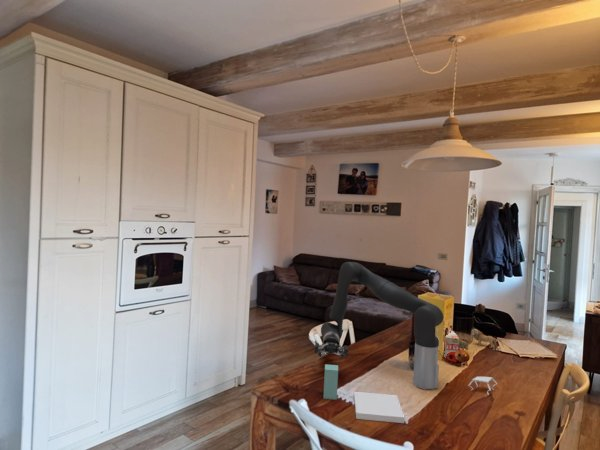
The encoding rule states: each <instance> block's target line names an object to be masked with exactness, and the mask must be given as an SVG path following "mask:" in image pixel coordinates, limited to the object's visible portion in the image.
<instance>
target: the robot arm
mask: <svg viewBox="0 0 600 450" xmlns="http://www.w3.org/2000/svg"><path fill="white" fill-rule="evenodd" d="M352 282H356V283H359V284H361V285H363V286H365V287H367V288H368V289H369V290H370V291H371V292H372V294H373V295H374V296H376V298H378V299H379V300H381V301H383V302H384V303H386V304H387V305H389V306H392V307H395V308H398V309H402V310H405V311H408V312H410V313H411V314H414V317H413V336H414V341H415V342H414V355H413V356H414V357H413V358H414V359H413V371H412V373H413V375H412V385H413V386H415V385H416V386H417V387H416V386H415V387H416V388H418V387H420V388H419V389H421V388H424V389H423V390H426V389H432V390H435V389H434V388H438V389H439V371H440V370H439V369H440V366H439V364H438V361H439V360H438V359H439V351H438V346H439V340H438V338H437V336H436V331H437V330H436V328H437V327H438V326H440V325H441V324H442V323H443V321H444V313H443V311H442V310H441V309H440V307H439V306H437V305H435V304H433V303H431V302H429V301H427V300H423V299H421V298H420V297H418V296H416V295H414V294H412V293H411V292H409V291H408V290H405V289H404V288H402V287H400V286H399V285H397V284H395V283H394V282H391V281H390V280H388V279H386V278H383V277H382V276H380V275H378V274H376V273H374V272H372V271H370V270H369V269H368V268H366V267H365V266H364V265H363V264H361V263H359V262H356V261H355V262H354V261H346V262H344V263H342V264H341V265H340V268H339V271H338V278H337V285H336V291H335V296H334V299H333V302H332V306H331V308H330V309H331V310H330V312H329V318H330V320H332V321H334V322H335V323H336V324H335V323H332V322H329V321H327V322H324V323H323V324H322V325H321V327H320V334H321V336H322V344H320V343H319V342H315V345H314V349H313V353H314V354H317V355H318V356H319V357H320V358H322V356H323V355H325V354H330V355H333V354H335V355H337V356H340V357H339V358H340V360H342V359H344V358H345V357H348V356H349V348H348V345H346V344H345V345H344V346H342V345H341V343H340V339H341V338H342V337H343V336H342V335H343V323H344V318H345V315H346V312H347V309H348V300H349V299H348V291H349V287H350V285H351V283H352ZM322 354H323V355H322Z"/></svg>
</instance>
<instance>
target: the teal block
mask: <svg viewBox="0 0 600 450" xmlns="http://www.w3.org/2000/svg"><path fill="white" fill-rule="evenodd" d="M323 379H324V380H323V381H324V382H323V396H322V397H323V398H322V399H326V400H334V401H335V400H338V381H339V365H338V364H337V365H336V364H324V378H323Z"/></svg>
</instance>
